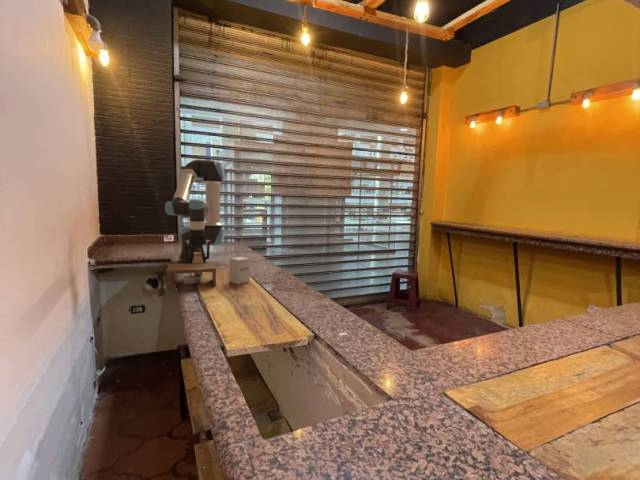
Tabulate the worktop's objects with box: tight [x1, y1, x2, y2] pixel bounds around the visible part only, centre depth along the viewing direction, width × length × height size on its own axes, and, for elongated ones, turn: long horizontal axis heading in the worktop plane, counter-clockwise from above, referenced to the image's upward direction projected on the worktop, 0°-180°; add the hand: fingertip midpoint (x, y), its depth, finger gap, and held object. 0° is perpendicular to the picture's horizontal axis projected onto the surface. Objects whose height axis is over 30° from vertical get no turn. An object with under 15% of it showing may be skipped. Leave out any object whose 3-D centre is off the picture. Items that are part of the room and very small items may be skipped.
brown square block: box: [183, 274, 196, 285], centre depth 168 cm, size 5×5×3 cm
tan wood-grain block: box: [193, 252, 203, 284], centre depth 172 cm, size 17×4×12 cm, turn 20°
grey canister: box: [229, 256, 250, 285], centre depth 172 cm, size 7×7×13 cm
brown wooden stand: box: [165, 262, 217, 290], centre depth 165 cm, size 14×22×9 cm, turn 109°
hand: (198, 271), depth 179 cm, fingers closed on tan wood-grain block, 4 cm apart
